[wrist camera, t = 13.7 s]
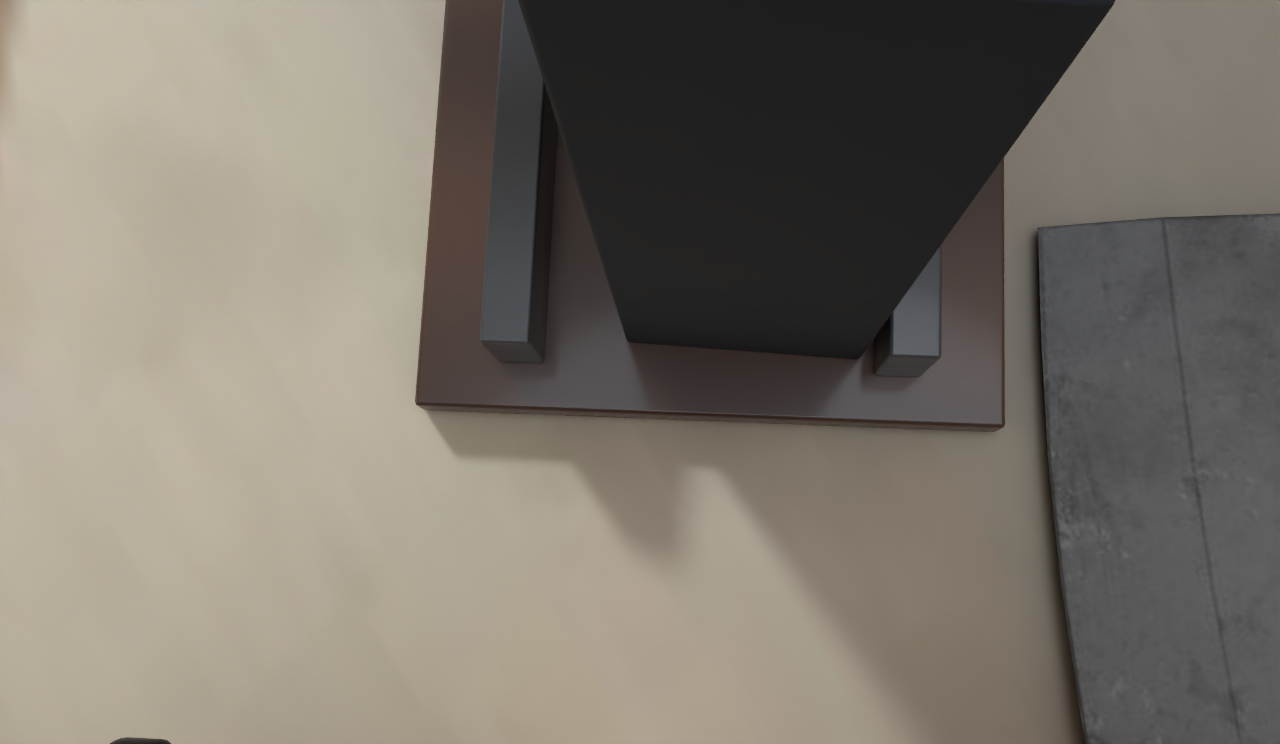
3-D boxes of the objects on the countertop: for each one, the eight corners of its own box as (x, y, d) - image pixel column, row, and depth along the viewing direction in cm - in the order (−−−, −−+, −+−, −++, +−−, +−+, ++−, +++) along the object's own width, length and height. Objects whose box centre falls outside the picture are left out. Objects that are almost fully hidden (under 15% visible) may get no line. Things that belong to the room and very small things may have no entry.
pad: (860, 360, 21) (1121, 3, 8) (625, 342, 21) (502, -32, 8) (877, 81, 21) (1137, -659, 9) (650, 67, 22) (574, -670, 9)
